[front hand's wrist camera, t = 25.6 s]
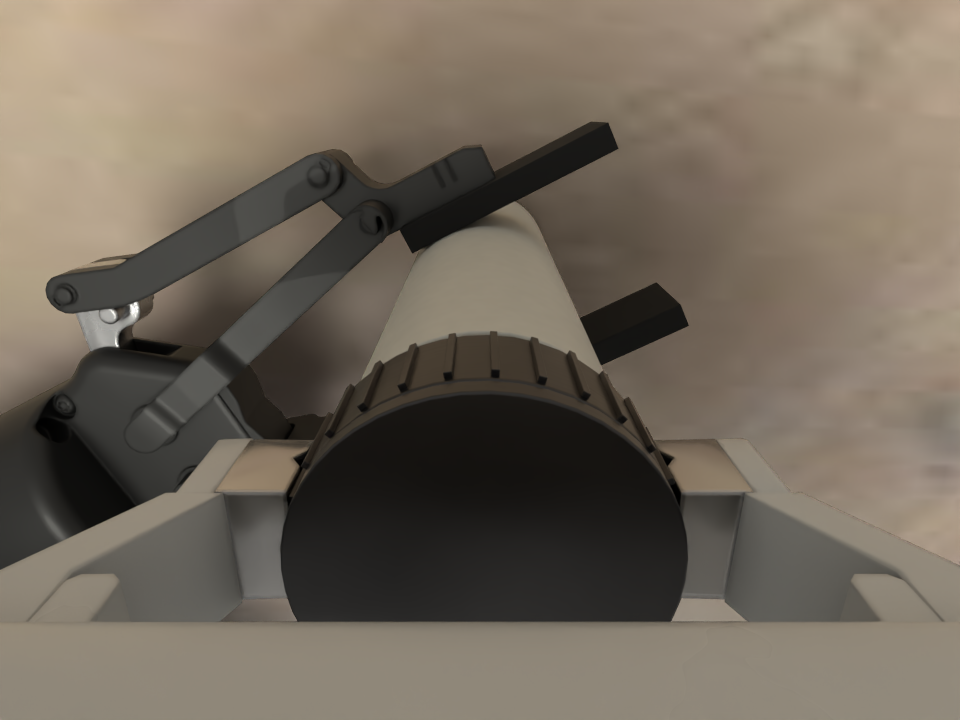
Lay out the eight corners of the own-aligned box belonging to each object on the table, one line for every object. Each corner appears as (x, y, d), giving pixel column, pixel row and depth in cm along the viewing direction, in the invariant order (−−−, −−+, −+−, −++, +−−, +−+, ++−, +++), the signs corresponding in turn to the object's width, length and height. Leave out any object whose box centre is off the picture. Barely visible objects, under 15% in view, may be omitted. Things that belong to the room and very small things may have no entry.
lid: (610, 638, 11) (635, 744, 9) (303, 600, 11) (266, 701, 9) (697, 359, 9) (752, 422, 7) (323, 301, 9) (281, 352, 7)
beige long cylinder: (548, 195, 25) (685, 383, 8) (539, 313, 27) (635, 671, 10) (424, 190, 25) (296, 369, 8) (424, 308, 27) (319, 660, 10)
